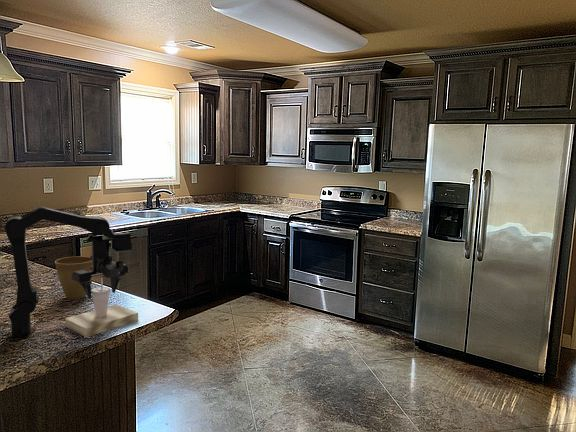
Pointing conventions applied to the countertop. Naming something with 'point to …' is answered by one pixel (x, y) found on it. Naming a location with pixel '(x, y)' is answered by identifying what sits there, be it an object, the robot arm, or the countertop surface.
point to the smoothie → (100, 300)
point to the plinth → (101, 320)
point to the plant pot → (65, 274)
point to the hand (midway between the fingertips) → (101, 295)
